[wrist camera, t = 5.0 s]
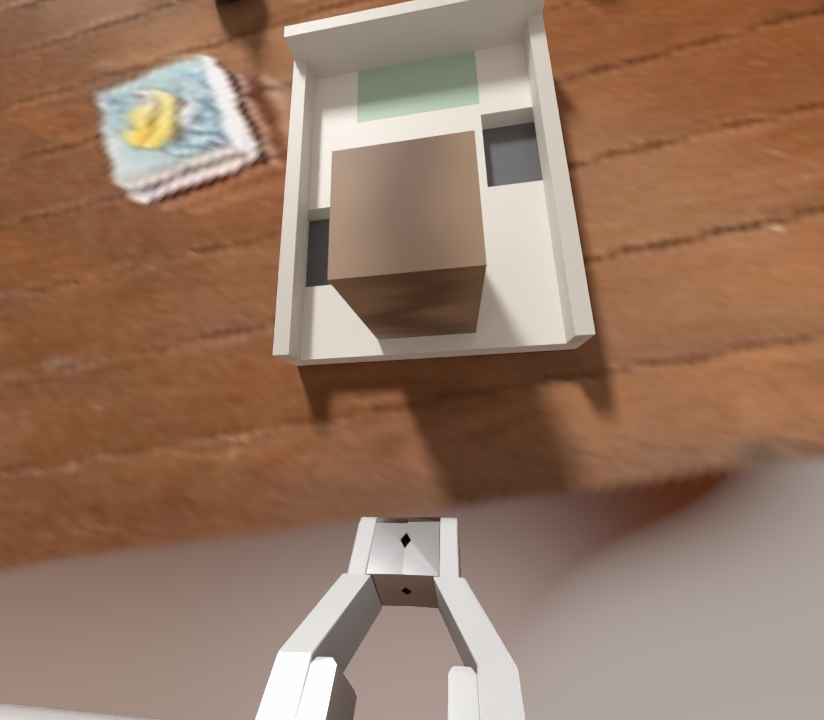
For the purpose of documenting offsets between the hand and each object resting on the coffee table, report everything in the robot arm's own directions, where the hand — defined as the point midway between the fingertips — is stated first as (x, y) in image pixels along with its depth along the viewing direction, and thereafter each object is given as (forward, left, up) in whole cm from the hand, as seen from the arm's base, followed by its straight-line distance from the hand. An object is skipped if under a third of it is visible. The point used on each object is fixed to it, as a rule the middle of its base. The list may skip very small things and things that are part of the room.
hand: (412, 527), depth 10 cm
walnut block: (0, +12, -8) cm, 14 cm away
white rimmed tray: (0, +20, -9) cm, 22 cm away
